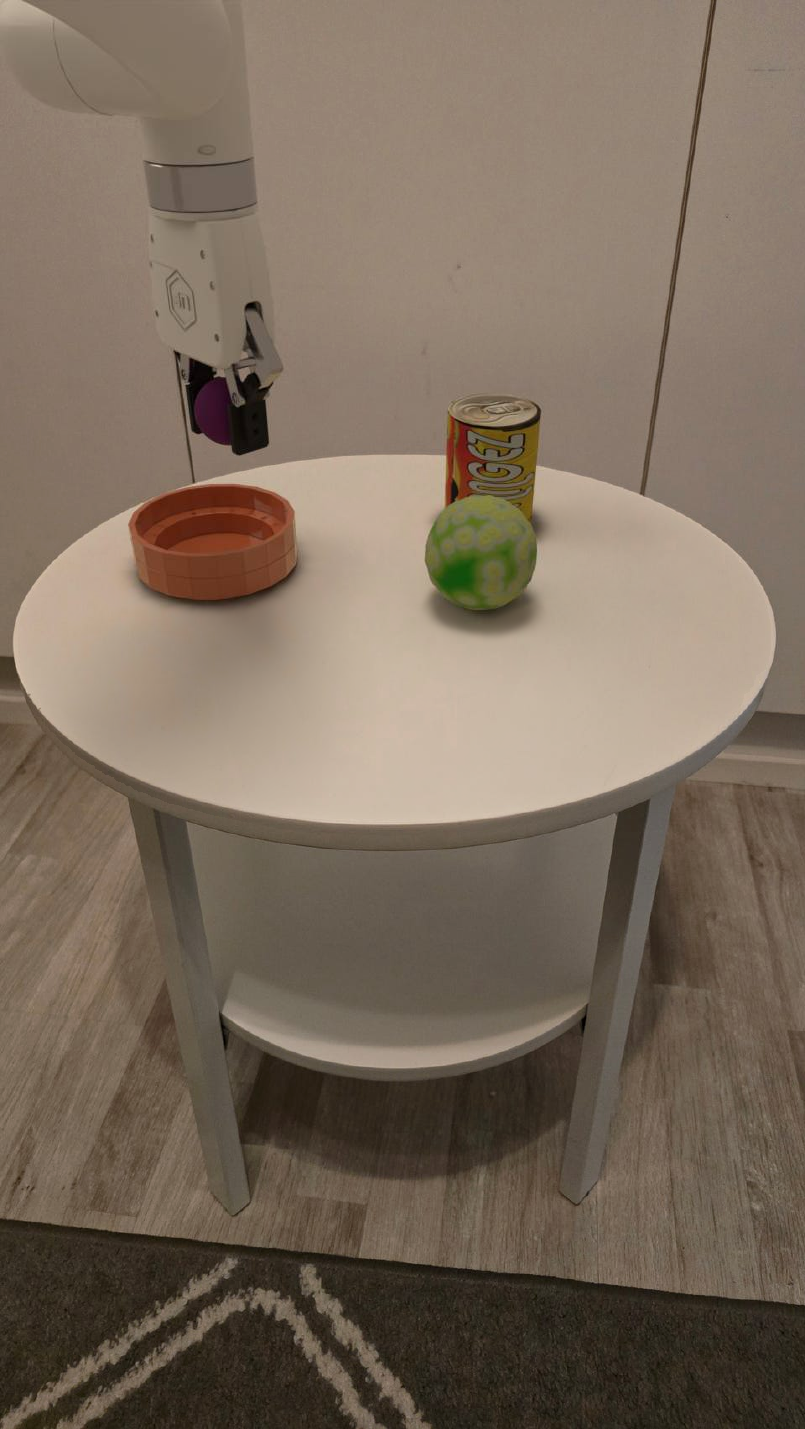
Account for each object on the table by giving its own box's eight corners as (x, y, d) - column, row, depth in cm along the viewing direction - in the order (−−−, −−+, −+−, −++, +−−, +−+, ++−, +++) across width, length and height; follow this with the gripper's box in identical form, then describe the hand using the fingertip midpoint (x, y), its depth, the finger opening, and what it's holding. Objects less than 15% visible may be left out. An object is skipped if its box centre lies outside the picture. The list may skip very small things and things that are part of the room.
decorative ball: (517, 572, 94) (525, 473, 88) (545, 627, 86) (555, 522, 80) (415, 579, 93) (416, 479, 86) (433, 636, 85) (436, 530, 79)
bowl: (184, 623, 86) (176, 573, 83) (111, 558, 96) (101, 511, 93) (327, 572, 94) (325, 524, 91) (246, 516, 103) (241, 471, 100)
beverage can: (428, 516, 103) (430, 403, 96) (499, 498, 107) (506, 388, 100) (474, 551, 97) (480, 433, 90) (548, 530, 101) (560, 416, 93)
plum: (206, 459, 77) (198, 393, 74) (192, 436, 81) (183, 372, 78) (270, 450, 78) (265, 385, 75) (254, 427, 82) (248, 364, 79)
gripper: (94, 178, 72) (135, 422, 83) (225, 213, 61) (252, 486, 72) (183, 167, 76) (211, 401, 87) (320, 198, 65) (332, 459, 76)
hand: (229, 437), depth 79 cm, fingers closed on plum, 5 cm apart
